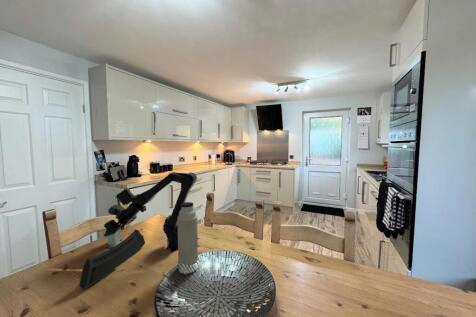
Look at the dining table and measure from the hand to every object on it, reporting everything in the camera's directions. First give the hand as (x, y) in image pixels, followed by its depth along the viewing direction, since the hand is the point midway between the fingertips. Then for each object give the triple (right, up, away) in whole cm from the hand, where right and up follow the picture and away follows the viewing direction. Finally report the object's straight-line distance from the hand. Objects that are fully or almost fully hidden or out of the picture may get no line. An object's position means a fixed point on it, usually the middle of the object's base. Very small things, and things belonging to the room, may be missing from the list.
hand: (110, 232), depth 102 cm
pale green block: (+1, -7, 0) cm, 7 cm away
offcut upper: (+8, -6, 0) cm, 10 cm away
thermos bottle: (+44, -9, -18) cm, 48 cm away
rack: (+1, -7, 0) cm, 7 cm away
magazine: (+13, -9, -16) cm, 23 cm away
